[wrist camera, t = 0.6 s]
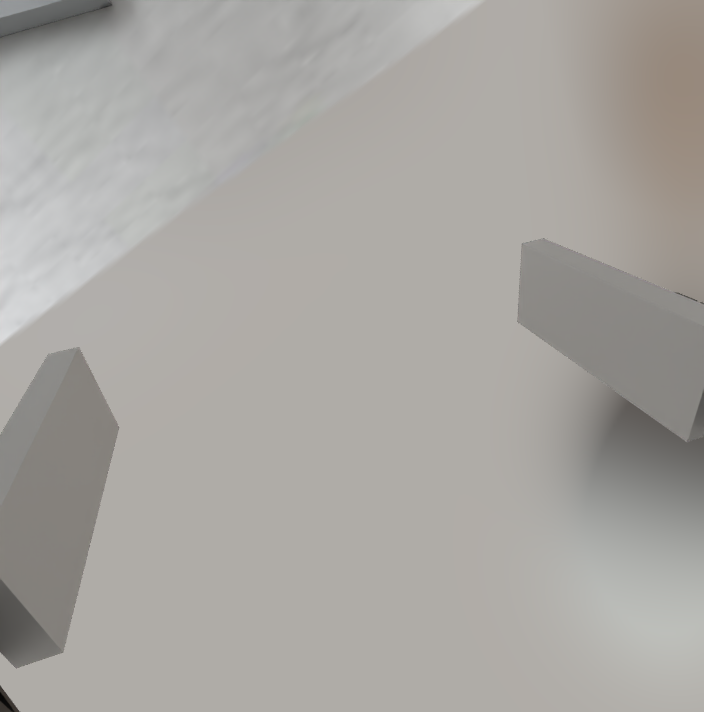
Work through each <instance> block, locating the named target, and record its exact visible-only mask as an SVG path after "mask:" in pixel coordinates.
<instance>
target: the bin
mask: <svg viewBox="0 0 704 712" xmlns="http://www.w3.org/2000/svg"><path fill="white" fill-rule="evenodd" d="M111 5H112V4H111V2H110V0H0V37H2V36H5V35H9V34H12V33H16V32H19V31H23V30H26V29H30V28H34V27H37V26H41V25H44V24H48V23H51V22H55V21H58V20H62V19H65V18H69V17H72V16H76V15H79V14H83V13H86V12H90V11H93V10H97V9H100V8H104V7H107V6H111Z"/></svg>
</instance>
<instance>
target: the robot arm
mask: <svg viewBox="0 0 704 712" xmlns="http://www.w3.org/2000/svg"><path fill="white" fill-rule="evenodd" d="M518 323H520V324H521V325H523V326H524V327H526V328H527V329H528V330H530V331H531V332H532V333H534V334H536V335H537V336H538V337H540V338H541V339H542V340H544V341H545V342H547V343H548V344H549V345H551V346H552V347H554V348H555V349H556V350H558V351H559V352H561V353H562V354H563V355H565V356H567V357H568V358H569V359H570V360H572V361H574V362H575V363H576V364H578V365H579V366H580V367H582V368H583V369H585V370H586V371H587V372H589V373H590V374H592V375H593V376H595V377H596V378H597V379H599V380H600V381H602V382H603V383H604V384H606V385H607V386H609V387H610V388H611V389H613V390H614V391H616V392H617V393H619V394H620V395H621V396H623V397H624V398H626V399H627V400H628V401H630V402H631V403H633V404H634V405H635V406H637V407H638V408H640V409H641V410H643V411H644V412H645V413H647V414H648V415H649V416H651V417H652V418H654V419H655V420H657V421H658V422H659V423H661V424H662V425H664V426H665V427H666V428H668V429H670V430H671V431H672V432H673V433H675V434H676V435H678V436H679V437H681V438H682V439H683V440H685V441H686V442H689V441H692V440H695V439H698V438H701V437H704V303H701V302H700V303H699V302H697V300H694V299H692V298H689V297H687V296H685V295H682V294H680V293H676V292H672V291H670V290H667V289H665V288H663V287H660V286H658V285H655V284H653V283H651V282H648V281H646V280H643V279H641V278H638V277H636V276H633V275H631V274H629V273H626V272H624V271H621V270H619V269H616V268H614V267H612V266H609V265H607V264H604V263H602V262H600V261H597V260H595V259H592V258H590V257H587V256H585V255H582V254H580V253H578V252H575V251H573V250H570V249H568V248H565V247H563V246H561V245H558V244H556V243H553V242H551V241H548V240H546V239H544V238H543V239H539V240H535V241H530V242H526V243H522V250H521V268H520V285H519V304H518ZM118 430H119V426H118V424H117V422H116V420H115V418H114V416H113V414H112V412H111V410H110V408H109V406H108V404H107V402H106V400H105V398H104V396H103V394H102V392H101V390H100V388H99V386H98V384H97V382H96V380H95V378H94V376H93V374H92V372H91V370H90V368H89V366H88V364H87V362H86V360H85V358H84V356H83V354H82V352H81V350H80V348H79V347H77V348H73V349H68V350H64V351H60V352H56V353H51V354H48V355H47V357H46V359H45V361H44V362H43V364H42V365H41V367H40V369H39V371H38V372H37V374H36V376H35V377H34V379H33V381H32V382H31V384H30V386H29V387H28V389H27V391H26V392H25V394H24V396H23V397H22V399H21V401H20V402H19V404H18V406H17V407H16V409H15V411H14V412H13V414H12V416H11V418H10V419H9V421H8V423H7V424H6V426H5V428H4V429H3V431H2V432H1V434H0V652H1V653H2V654H3V655H4V656H5V657H6V658H7V659H8V661H10V663H11V664H12V665H13V666H14V667H15V668H19V667H21V666H24V665H28V664H30V663H33V662H36V661H39V660H42V659H45V658H48V657H51V656H54V655H57V654H60V653H63V651H64V647H65V643H66V639H67V635H68V631H69V627H70V622H71V619H72V615H73V611H74V607H75V603H76V599H77V595H78V591H79V587H80V583H81V578H82V575H83V571H84V567H85V563H86V559H87V555H88V550H89V547H90V543H91V539H92V534H93V531H94V526H95V523H96V518H97V514H98V510H99V506H100V502H101V498H102V494H103V490H104V486H105V482H106V478H107V474H108V470H109V466H110V462H111V458H112V454H113V450H114V446H115V442H116V438H117V434H118ZM0 712H19V710H18V709H17V708H16V706H15V705H14V703H13V702H12V701H11V699H10V698H9V697H8V695H7V694H6V693H5V692H4V690H3V689H2V687H1V686H0Z"/></svg>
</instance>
